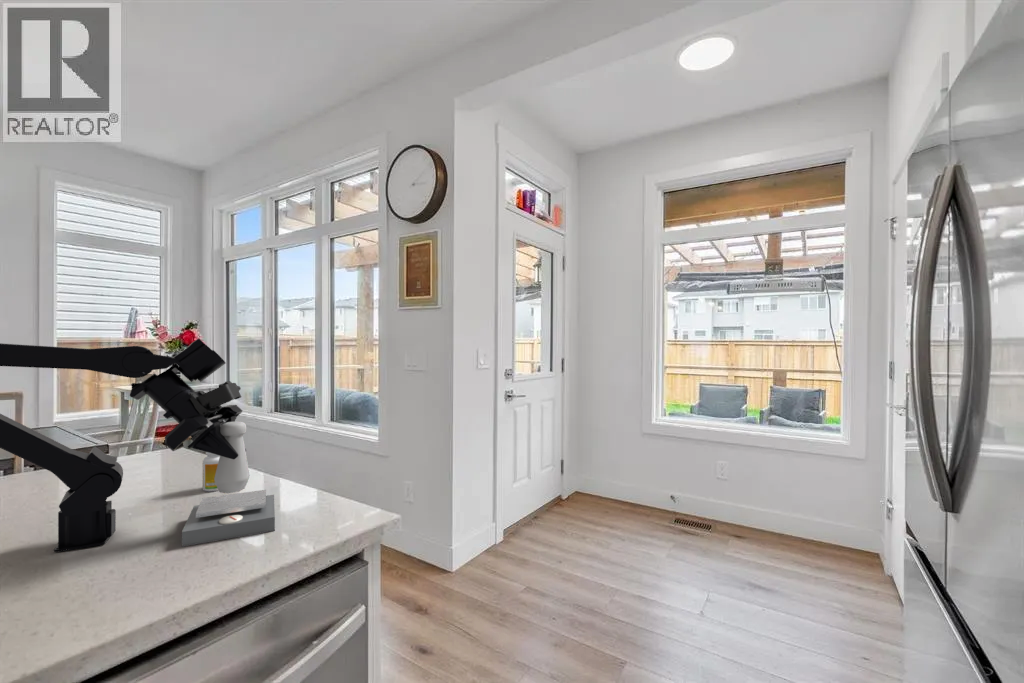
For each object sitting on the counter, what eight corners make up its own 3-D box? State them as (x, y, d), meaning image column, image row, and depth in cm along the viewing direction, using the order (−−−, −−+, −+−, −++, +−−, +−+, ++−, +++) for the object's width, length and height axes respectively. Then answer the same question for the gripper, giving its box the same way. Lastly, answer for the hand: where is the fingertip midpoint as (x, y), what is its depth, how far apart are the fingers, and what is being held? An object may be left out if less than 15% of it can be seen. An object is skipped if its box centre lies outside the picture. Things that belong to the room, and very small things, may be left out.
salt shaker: (232, 495, 84) (233, 425, 84) (206, 493, 86) (208, 424, 86) (256, 486, 90) (257, 420, 90) (231, 484, 91) (233, 419, 91)
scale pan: (195, 517, 82) (195, 513, 82) (202, 502, 89) (202, 498, 89) (265, 507, 87) (265, 503, 87) (266, 493, 95) (266, 489, 95)
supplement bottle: (234, 487, 109) (234, 446, 109) (209, 493, 104) (209, 451, 104) (222, 483, 112) (222, 443, 112) (198, 489, 107) (198, 448, 107)
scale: (181, 546, 77) (181, 529, 77) (193, 518, 90) (193, 503, 90) (274, 530, 84) (274, 514, 84) (274, 506, 96) (274, 492, 96)
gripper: (185, 371, 78) (254, 434, 80) (232, 366, 97) (287, 417, 98) (133, 418, 77) (204, 481, 79) (190, 404, 95) (247, 455, 97)
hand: (240, 455), depth 88 cm, fingers closed on salt shaker, 3 cm apart
